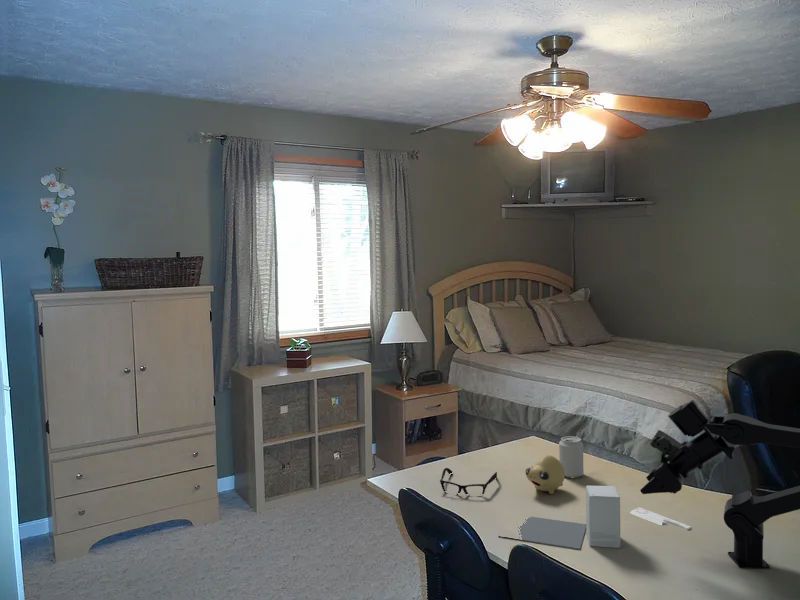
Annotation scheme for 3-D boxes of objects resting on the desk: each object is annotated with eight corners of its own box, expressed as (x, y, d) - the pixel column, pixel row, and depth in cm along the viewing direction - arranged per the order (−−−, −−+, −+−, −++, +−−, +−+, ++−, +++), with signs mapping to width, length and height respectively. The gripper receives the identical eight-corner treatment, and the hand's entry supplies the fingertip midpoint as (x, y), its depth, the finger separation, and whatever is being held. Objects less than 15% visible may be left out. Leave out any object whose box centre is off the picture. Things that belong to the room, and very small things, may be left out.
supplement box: (621, 548, 144) (620, 497, 143) (589, 546, 145) (588, 495, 144) (616, 534, 151) (616, 485, 150) (585, 532, 152) (585, 484, 152)
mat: (586, 525, 157) (586, 524, 156) (580, 549, 144) (580, 548, 144) (510, 514, 164) (510, 513, 164) (498, 537, 152) (498, 535, 152)
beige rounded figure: (519, 492, 180) (519, 457, 179) (543, 481, 188) (543, 448, 187) (547, 501, 172) (546, 465, 172) (571, 490, 180) (570, 455, 179)
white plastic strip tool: (679, 535, 150) (679, 531, 150) (628, 515, 163) (628, 511, 163) (691, 529, 153) (691, 525, 153) (639, 510, 166) (639, 506, 166)
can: (554, 473, 195) (553, 437, 194) (572, 469, 198) (572, 433, 197) (570, 480, 188) (569, 443, 187) (588, 476, 191) (588, 439, 190)
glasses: (435, 497, 181) (435, 481, 180) (449, 474, 198) (448, 459, 197) (490, 502, 176) (489, 486, 175) (499, 478, 192) (499, 463, 192)
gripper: (678, 413, 150) (628, 447, 156) (669, 433, 134) (614, 470, 140) (710, 450, 146) (658, 483, 153) (705, 475, 130) (647, 510, 137)
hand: (644, 485), depth 146 cm, fingers open, 9 cm apart
